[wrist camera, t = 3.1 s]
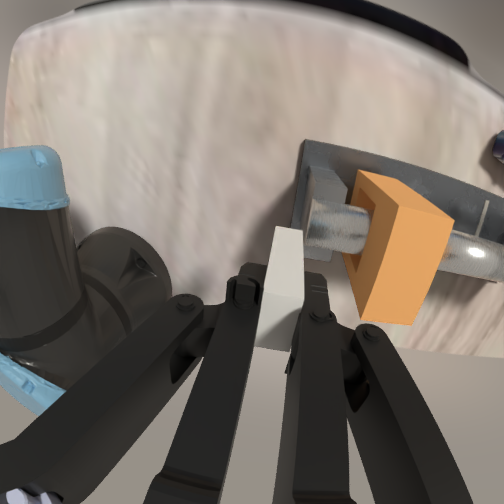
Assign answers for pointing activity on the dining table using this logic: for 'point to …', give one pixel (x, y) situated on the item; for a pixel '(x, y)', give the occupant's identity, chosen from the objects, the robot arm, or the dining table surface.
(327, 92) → the dining table surface
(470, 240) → the pipe rig
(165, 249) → the dining table surface
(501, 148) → the white blue-tipped device
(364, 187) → the collar
